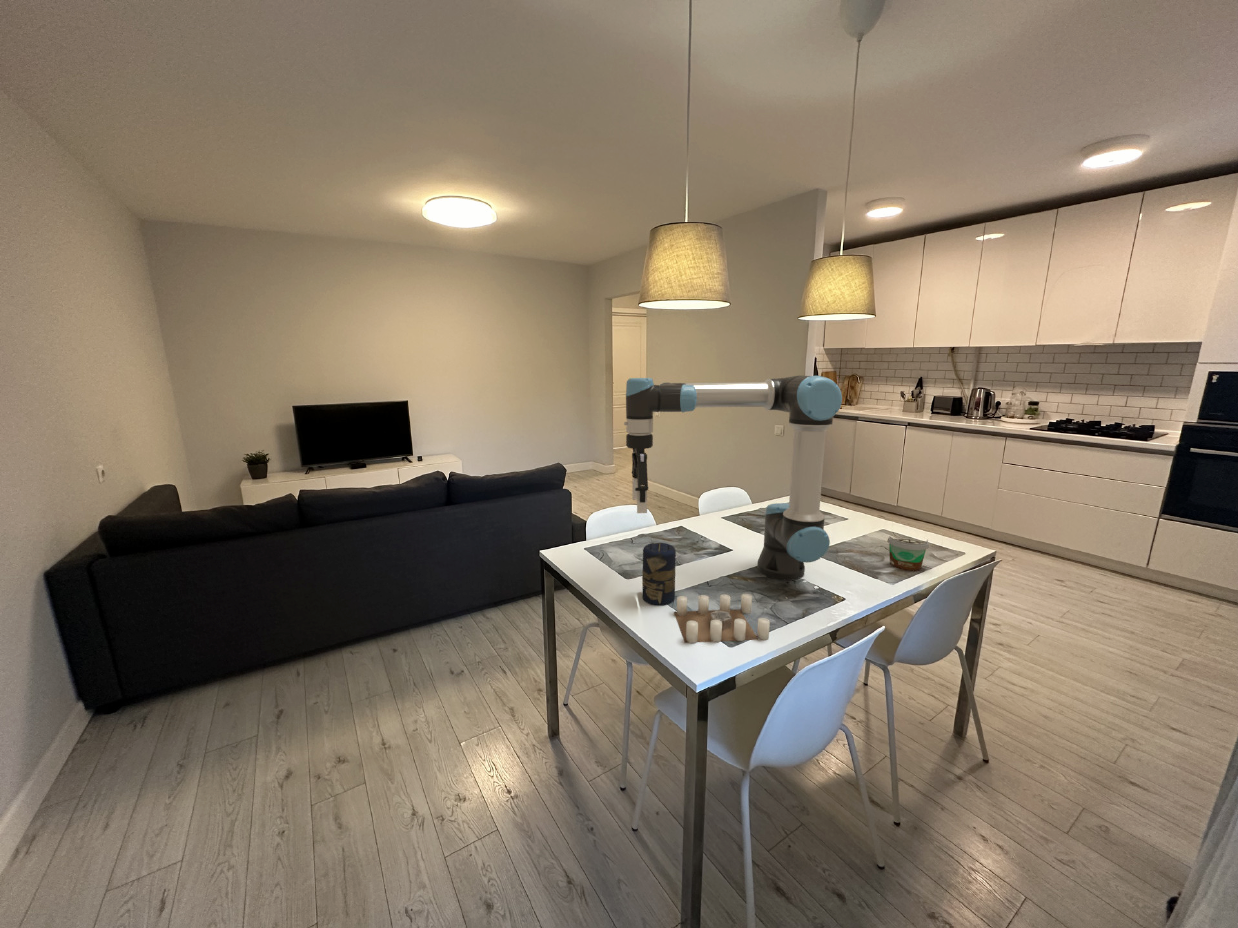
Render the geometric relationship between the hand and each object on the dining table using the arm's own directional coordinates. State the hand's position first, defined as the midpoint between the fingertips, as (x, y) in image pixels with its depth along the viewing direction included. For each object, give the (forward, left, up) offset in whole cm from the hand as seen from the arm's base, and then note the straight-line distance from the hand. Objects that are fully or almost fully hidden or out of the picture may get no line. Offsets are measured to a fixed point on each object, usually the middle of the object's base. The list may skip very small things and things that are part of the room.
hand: (639, 505), depth 139 cm
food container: (-92, -11, -28) cm, 97 cm away
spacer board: (-21, +21, -28) cm, 41 cm away
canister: (-5, +5, -28) cm, 29 cm away
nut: (-19, +21, -27) cm, 39 cm away
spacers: (-19, +21, -27) cm, 39 cm away
